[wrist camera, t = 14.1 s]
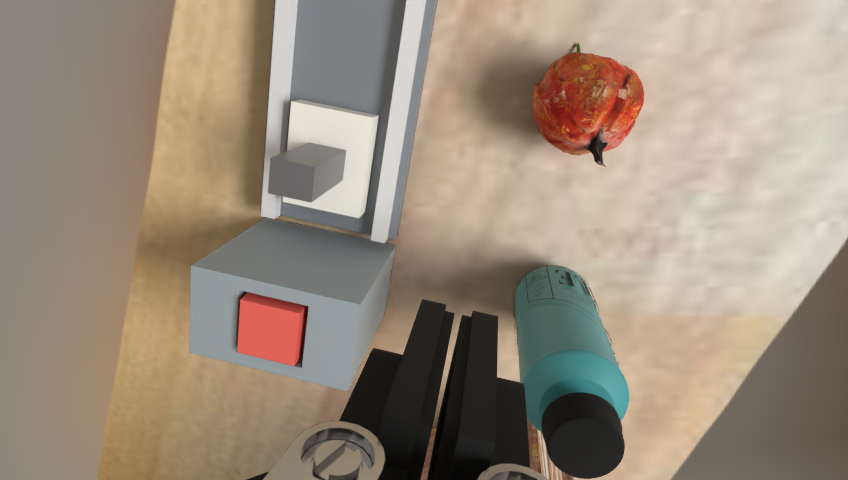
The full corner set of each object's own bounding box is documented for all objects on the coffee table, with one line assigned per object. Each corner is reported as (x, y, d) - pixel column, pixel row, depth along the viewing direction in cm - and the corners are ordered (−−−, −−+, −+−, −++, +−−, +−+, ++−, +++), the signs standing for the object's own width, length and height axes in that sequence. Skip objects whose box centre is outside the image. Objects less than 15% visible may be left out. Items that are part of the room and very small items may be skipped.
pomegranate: (522, 71, 41) (523, 184, 38) (541, 2, 34) (545, 134, 31) (614, 75, 41) (624, 189, 38) (653, 6, 34) (668, 139, 31)
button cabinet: (267, 216, 46) (190, 265, 35) (395, 245, 45) (360, 304, 34) (261, 286, 48) (189, 352, 37) (384, 314, 47) (347, 391, 36)
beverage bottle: (505, 315, 46) (507, 489, 27) (521, 247, 43) (536, 385, 25) (578, 331, 45) (631, 518, 26) (598, 262, 43) (672, 415, 24)
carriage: (300, 99, 40) (247, 108, 32) (379, 115, 40) (345, 128, 31) (292, 195, 43) (241, 227, 35) (365, 211, 43) (331, 247, 34)
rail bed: (288, -72, 38) (273, -82, 36) (445, -45, 37) (440, -53, 35) (267, 206, 46) (253, 214, 43) (397, 234, 45) (391, 244, 42)
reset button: (266, 276, 38) (240, 299, 34) (319, 288, 38) (299, 313, 34) (262, 325, 40) (237, 352, 36) (314, 337, 39) (294, 366, 36)
